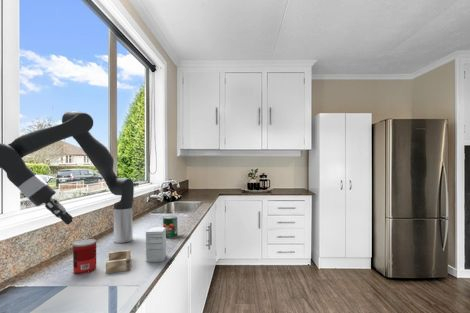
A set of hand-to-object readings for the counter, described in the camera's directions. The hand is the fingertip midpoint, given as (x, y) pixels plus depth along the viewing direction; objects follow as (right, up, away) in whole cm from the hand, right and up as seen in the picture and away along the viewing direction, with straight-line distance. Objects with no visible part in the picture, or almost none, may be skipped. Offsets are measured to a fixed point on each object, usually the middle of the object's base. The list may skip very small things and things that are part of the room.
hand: (70, 221), depth 105 cm
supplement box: (+29, -19, +14) cm, 37 cm away
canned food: (+4, -20, +2) cm, 20 cm away
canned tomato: (+27, -20, +48) cm, 59 cm away
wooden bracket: (+16, -19, +7) cm, 26 cm away
